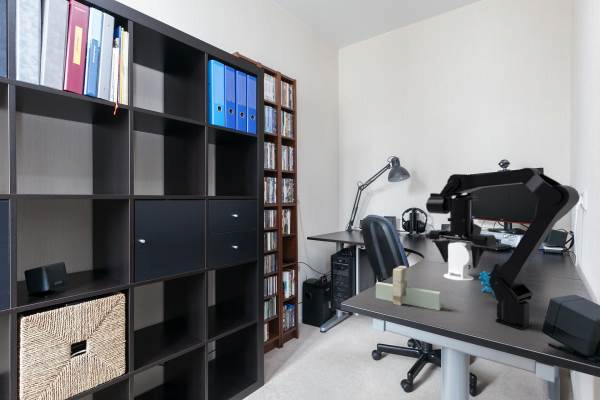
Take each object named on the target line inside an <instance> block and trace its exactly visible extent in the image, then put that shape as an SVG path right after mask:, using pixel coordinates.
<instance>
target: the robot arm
mask: <svg viewBox="0 0 600 400" xmlns="http://www.w3.org/2000/svg"><path fill="white" fill-rule="evenodd" d="M448 177H449V178H448V179H447V181H446V183H445V185H444V187H443V188H442V190H441V191H440V193H439V192H438V193H437V192H436V193H435V192H432V193H430V194H429V197H428V198H427V200H426V203H425V207H426V210H427V212H428V213H429V214H439V215H440V214H441V215H448V214H450V215H449V217H447V222H449V230H446V229H433V230H430V231H429V232H428V240H431V242H432V243H434V244H435V246H436V248H437V250H438V251H439V253H440V256H441V257H442V259H443V261H444V263H446V264H447V263H449V262H448V245H449V242H450V241H451V240H456V241H457V240H458V241H465V242H471V243H472V244H474V245H473V246H471V249H472V263H471V264H472V267H473V269H476V268H477V267H478V264H479V263H480V260H481V259H482V256H483V254H484V252H485V251H486V250H487V249H488V248H492V246H496V245H497V238H496V237H495V235H494V234H488V233H487V234H486V233H482V228H483V227H482V226H480V225H478V224H475V223H474V218H473V217H472V209H471V208H472V201H478V200H479V197H477V196H476V195H475V194H474V192H475V191H478V190H481V189H483V188H491V187H492V188H493V187H500V186H503V187H504V186H511V185H520V184H523V185H525V186H526V187H527V189H529V190H530V192H531V193H533V194H534V195H535V196H537V197H538V198H537V201H536V204H535V215H534V217H533V218H532V220H531V222H530V223H529V225H528V226H527V228H526V230H525V232H524V234H523V235H522V236H521V238H520V239H519V242H518V243H517V245H516V246H515V248H514V250H513V251H512V254H510V256H509V258H508V259H507V260H506V261H502V262H497V263H494V265H493V268H492V271H491V273H490V272H489V273H490V274H489V273H488V274H489V275H488V274H487V275H488V276H491V277H490V278H489V284H490V287H491V289H492V290H491V291H492V292H494V294H495V296H494V297H495V300H496V301H497V303H496V318H495V319H494V320H495V322H497V323H499V324H503V325H505V326H509V327H512V328H516V329H518V330H524V329H525V328H527V327H530V326H532V325H533V322H532V321H530V302H529V301H531V299H532V297H533V295H534V292H532V290H531V289H530V288H529V287H528V286H527V285H526V284H525V280H526V278H527V277H526V276H527V268H528V266H529V265H530V264H531V262H532V261H533V258H534V257H535V256H536V254H537V252H538V251H539V250H540V248H541V246H542V245H543V244H544V242H545V240H546V238H547V237H548V236H549V234H550V232H551V231H552V229H553V228H554V226H555V225H556V223H557V222H559V221H560V220H561V219H562V218H563V217H565V216H566V215H568V213H569V212H570V211H571V210H572V209H573V208H574V207H575V206H576V205H577V204H578V203H579V201H580V197H581V196H580V193H579V192H578V190H577V189H576V188H575V187H573V186H571V185H566V184H565V185H563V184H562V183H560V182H559V181H557V180H556V179H553V178H551V177H550V176H547V175H546V174H544V173H543V172H542V171H540V170H539V169H537V168H534V167H523V168H520V169H513V170H504V171H500V172H492V173H491V172H490V173H483V174H462V173H459V174H458V173H454V174H451V175H450V176H448Z"/></svg>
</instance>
